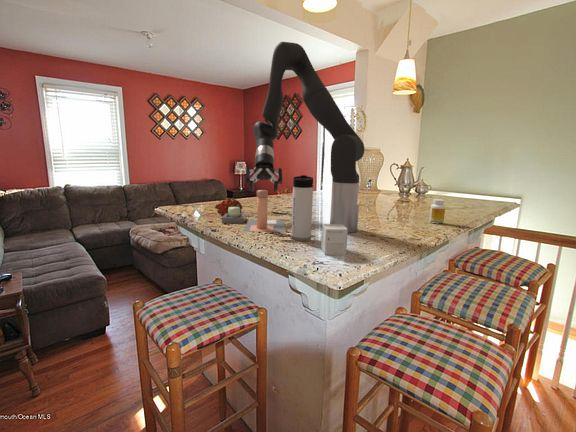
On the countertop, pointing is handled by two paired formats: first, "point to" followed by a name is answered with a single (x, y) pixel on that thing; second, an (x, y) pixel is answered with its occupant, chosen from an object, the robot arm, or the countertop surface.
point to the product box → (334, 239)
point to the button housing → (233, 219)
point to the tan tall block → (262, 209)
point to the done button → (234, 212)
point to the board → (271, 226)
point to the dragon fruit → (227, 205)
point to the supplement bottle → (437, 211)
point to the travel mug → (302, 208)
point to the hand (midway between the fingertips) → (263, 190)
